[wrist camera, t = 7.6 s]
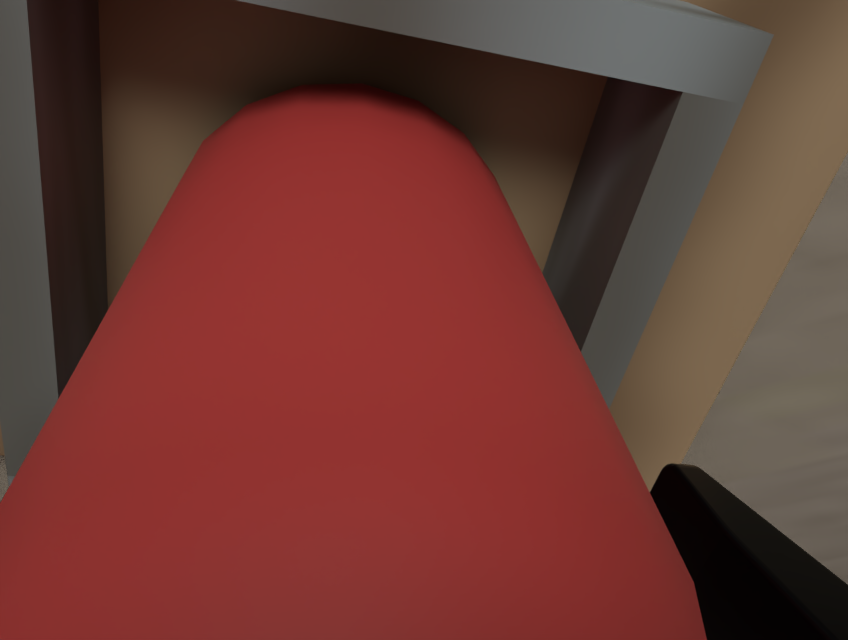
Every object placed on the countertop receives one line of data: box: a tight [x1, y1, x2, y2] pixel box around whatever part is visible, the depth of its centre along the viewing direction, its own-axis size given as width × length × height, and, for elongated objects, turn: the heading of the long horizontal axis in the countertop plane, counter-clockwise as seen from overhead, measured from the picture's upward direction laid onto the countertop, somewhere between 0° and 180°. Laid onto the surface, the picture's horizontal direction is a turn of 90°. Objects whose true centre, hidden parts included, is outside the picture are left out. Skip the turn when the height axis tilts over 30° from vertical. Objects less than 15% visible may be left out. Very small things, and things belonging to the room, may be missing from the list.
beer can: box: [0, 83, 707, 640], centre depth 9 cm, size 7×7×12 cm
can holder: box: [0, 0, 848, 492], centre depth 13 cm, size 20×14×4 cm
